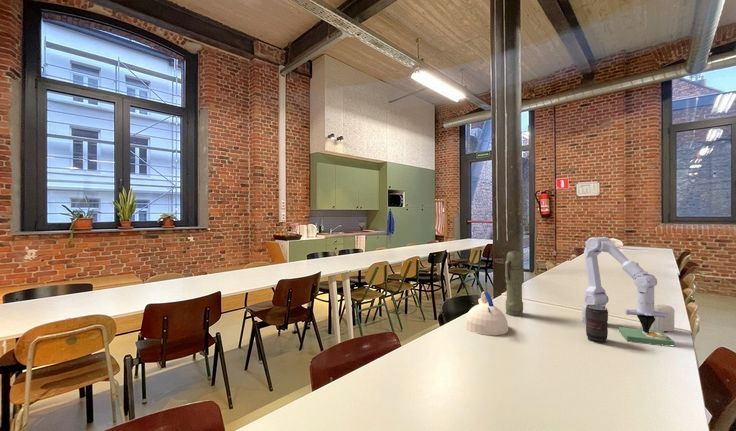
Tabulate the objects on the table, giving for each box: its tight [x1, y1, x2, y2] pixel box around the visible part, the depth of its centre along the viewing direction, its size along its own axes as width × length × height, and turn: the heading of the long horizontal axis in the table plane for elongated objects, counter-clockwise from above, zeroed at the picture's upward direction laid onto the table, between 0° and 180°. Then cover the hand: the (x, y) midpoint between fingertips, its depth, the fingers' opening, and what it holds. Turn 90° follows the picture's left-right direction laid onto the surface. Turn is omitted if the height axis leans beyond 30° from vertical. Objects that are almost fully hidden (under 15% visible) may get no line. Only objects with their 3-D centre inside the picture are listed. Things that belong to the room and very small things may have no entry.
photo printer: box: [650, 303, 675, 333], centre depth 154 cm, size 10×4×12 cm, turn 98°
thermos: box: [504, 250, 524, 317], centre depth 181 cm, size 9×12×35 cm
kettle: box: [464, 291, 509, 336], centre depth 161 cm, size 20×21×18 cm
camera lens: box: [585, 304, 609, 344], centre depth 143 cm, size 8×8×15 cm
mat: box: [618, 326, 676, 346], centre depth 144 cm, size 16×12×2 cm
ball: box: [647, 332, 658, 337], centre depth 143 cm, size 4×4×4 cm
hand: (645, 332), depth 144 cm, fingers closed
